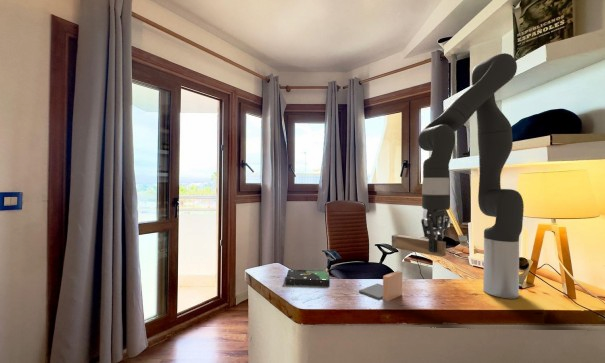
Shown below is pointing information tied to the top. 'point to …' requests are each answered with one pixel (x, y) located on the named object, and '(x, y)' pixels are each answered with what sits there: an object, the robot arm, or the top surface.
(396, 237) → the block
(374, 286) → the mat
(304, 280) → the disk drive
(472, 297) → the top surface
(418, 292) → the top surface
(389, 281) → the tile
